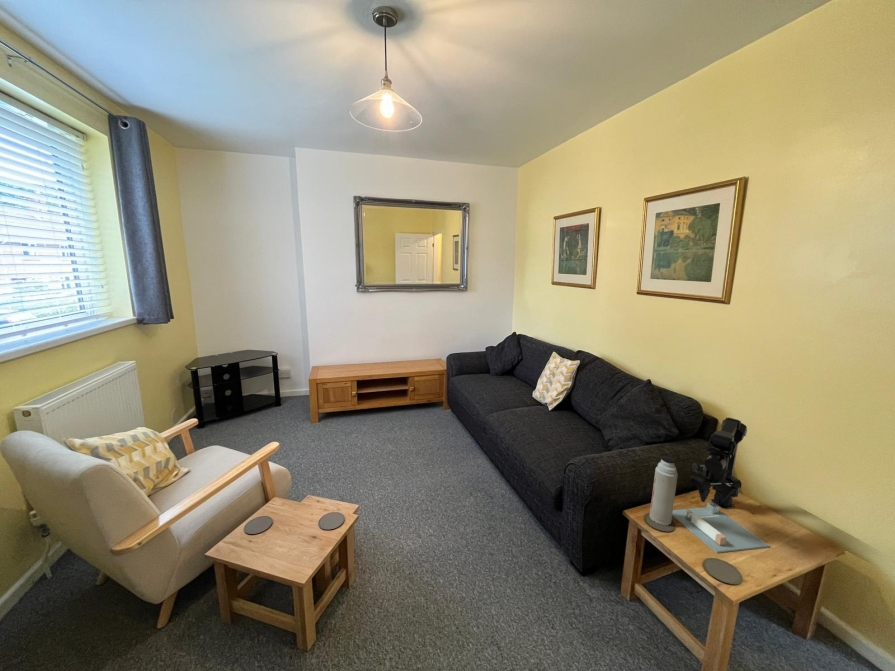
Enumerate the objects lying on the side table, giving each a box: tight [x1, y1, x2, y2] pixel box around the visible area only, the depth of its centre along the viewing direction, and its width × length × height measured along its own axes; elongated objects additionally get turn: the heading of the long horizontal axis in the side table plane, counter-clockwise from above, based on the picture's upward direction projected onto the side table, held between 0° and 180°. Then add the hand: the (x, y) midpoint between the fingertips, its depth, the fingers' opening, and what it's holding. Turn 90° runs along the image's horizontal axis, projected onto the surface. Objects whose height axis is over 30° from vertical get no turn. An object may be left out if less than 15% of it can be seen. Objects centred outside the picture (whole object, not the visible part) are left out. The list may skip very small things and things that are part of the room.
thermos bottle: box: [649, 455, 679, 526], centre depth 147 cm, size 8×8×28 cm
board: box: [672, 506, 771, 554], centre depth 145 cm, size 24×24×1 cm
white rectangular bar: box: [691, 515, 726, 545], centre depth 140 cm, size 13×2×3 cm, turn 9°
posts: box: [685, 501, 720, 521], centre depth 152 cm, size 18×4×4 cm, turn 109°
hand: (712, 501), depth 142 cm, fingers open, 9 cm apart
